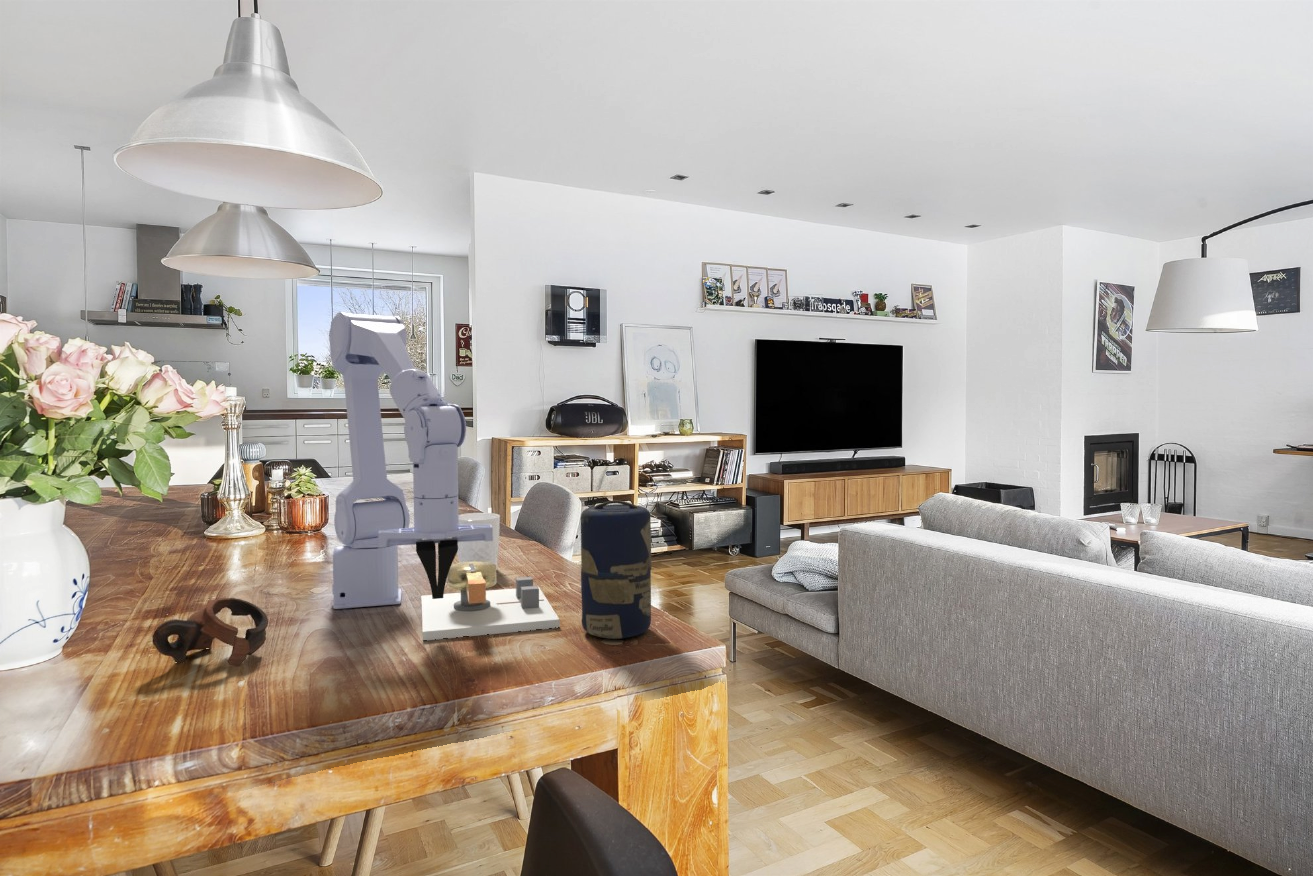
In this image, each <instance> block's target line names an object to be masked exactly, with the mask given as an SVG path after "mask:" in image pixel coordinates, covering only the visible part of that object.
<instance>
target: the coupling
mask: <svg viewBox="0 0 1313 876" xmlns="http://www.w3.org/2000/svg"><path fill="white" fill-rule="evenodd" d="M496 584H497V570H496V565H495V564H493V563H490V562H463V563H459V562H458V563H457V562H456V563H452V565H451V567H450V570H449V573H448V576H447V579H446V587H447V588H449V589H450V590H455V591H456V590H457V591H461V590H466V591H467V595H468V602H469V604H471V603H483V602H486V591H487V589H488V588H492V587H494V586H495V585H496Z"/></svg>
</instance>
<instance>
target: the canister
mask: <svg viewBox="0 0 1313 876" xmlns="http://www.w3.org/2000/svg"><path fill="white" fill-rule="evenodd" d="M651 520H652V519H651V513H650V511H649V510H648V509H647V508H646V507H645V506H644V507H643V506H641V505H636V504H633V503H631V502H627V501H623V500H617V499H613V500H607V501H605V502H603V503H599V504H597V505H595V506H594V505H593V506H590V507H588V508H586V509H584V510H582V512H581V514H580V562H581V563H580V564H581V565H580V591H581V594H580V595H581V610H582V611H581V626H582V628H583V630H584V631H585V632H586V633H587V634H589V635H592V636H593V637H598V638H601V639H613V640H614V639H616V640H617V639H618V640H619V639H625V638H626V639H627V638H631V637H636V636H639V635H641V634H644V633H645V632H646V631H647V630H648V629H649V628H650V627H651V622H652V581H651V580H652V575H651V573H652V571H651V570H652V531H651V530H652V528H651V527H652V525H651V524H652V522H651Z"/></svg>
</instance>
